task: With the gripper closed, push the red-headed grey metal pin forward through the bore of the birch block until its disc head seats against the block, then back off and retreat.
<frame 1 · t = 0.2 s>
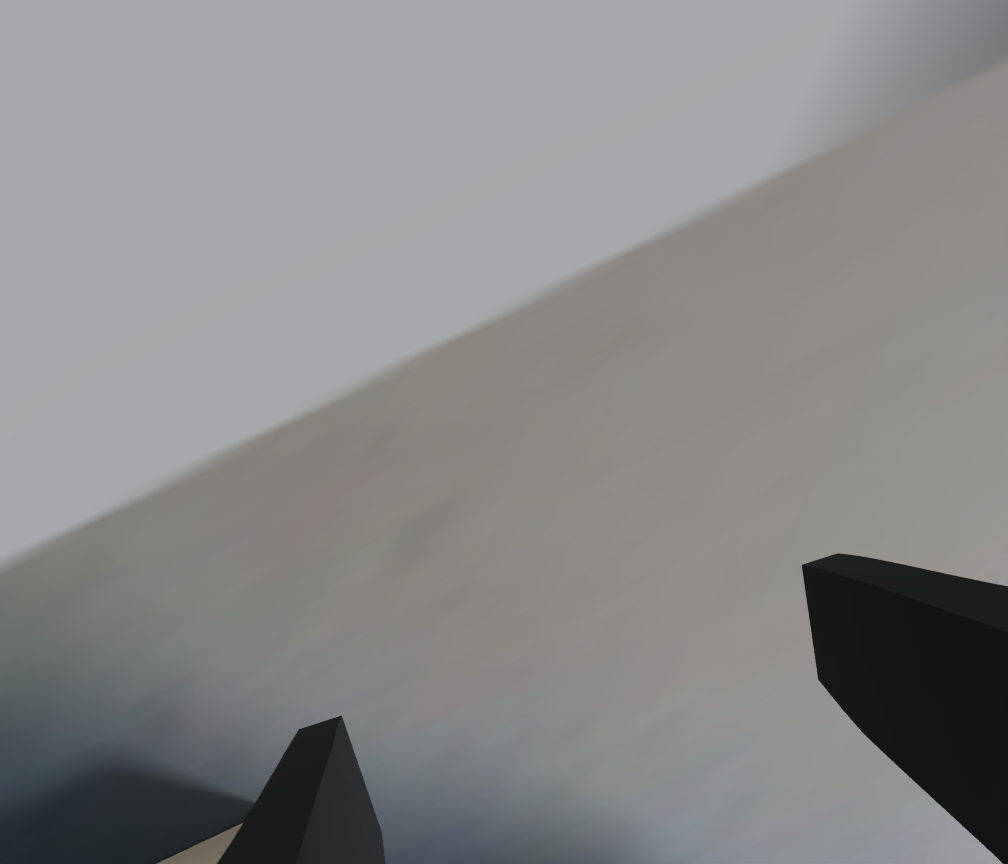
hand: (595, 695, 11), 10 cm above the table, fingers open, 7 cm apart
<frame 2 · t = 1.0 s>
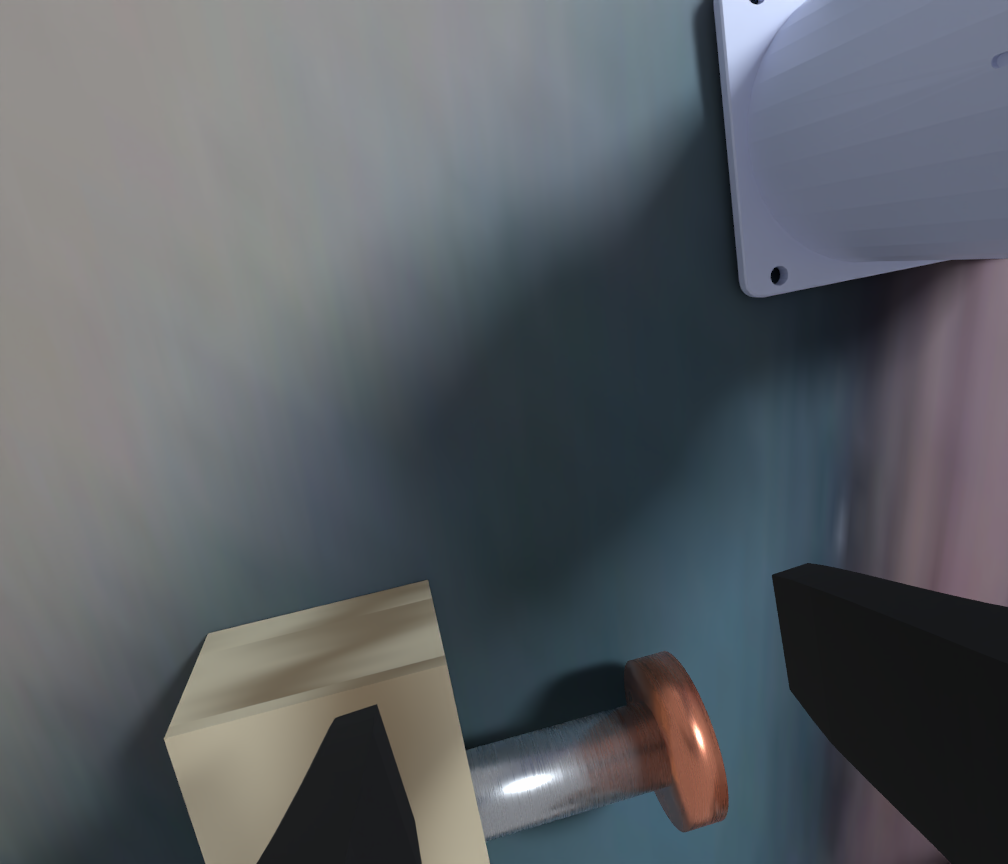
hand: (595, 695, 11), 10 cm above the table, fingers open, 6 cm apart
hitch block: (360, 760, 21), on the table
pin: (474, 795, 19), point 3 cm above the table, slide at 0.0 cm
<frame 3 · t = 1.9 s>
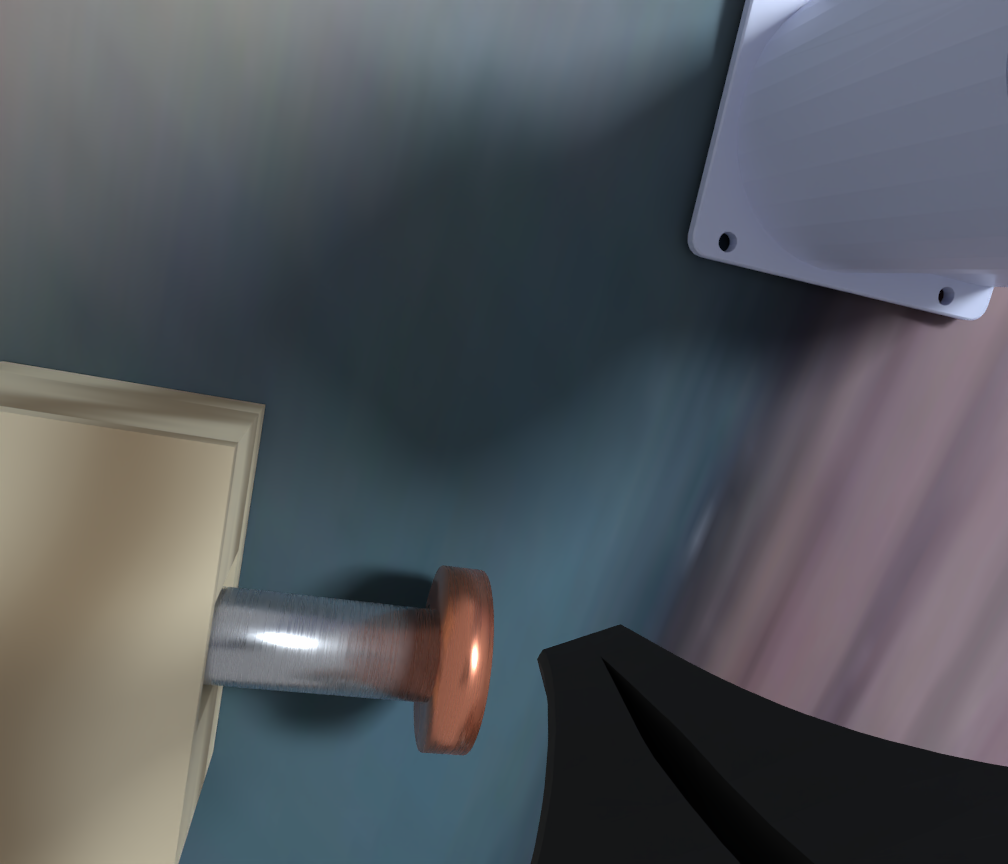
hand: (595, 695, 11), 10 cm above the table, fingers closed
hitch block: (116, 572, 19), on the table
pin: (218, 634, 17), point 3 cm above the table, slide at 0.0 cm
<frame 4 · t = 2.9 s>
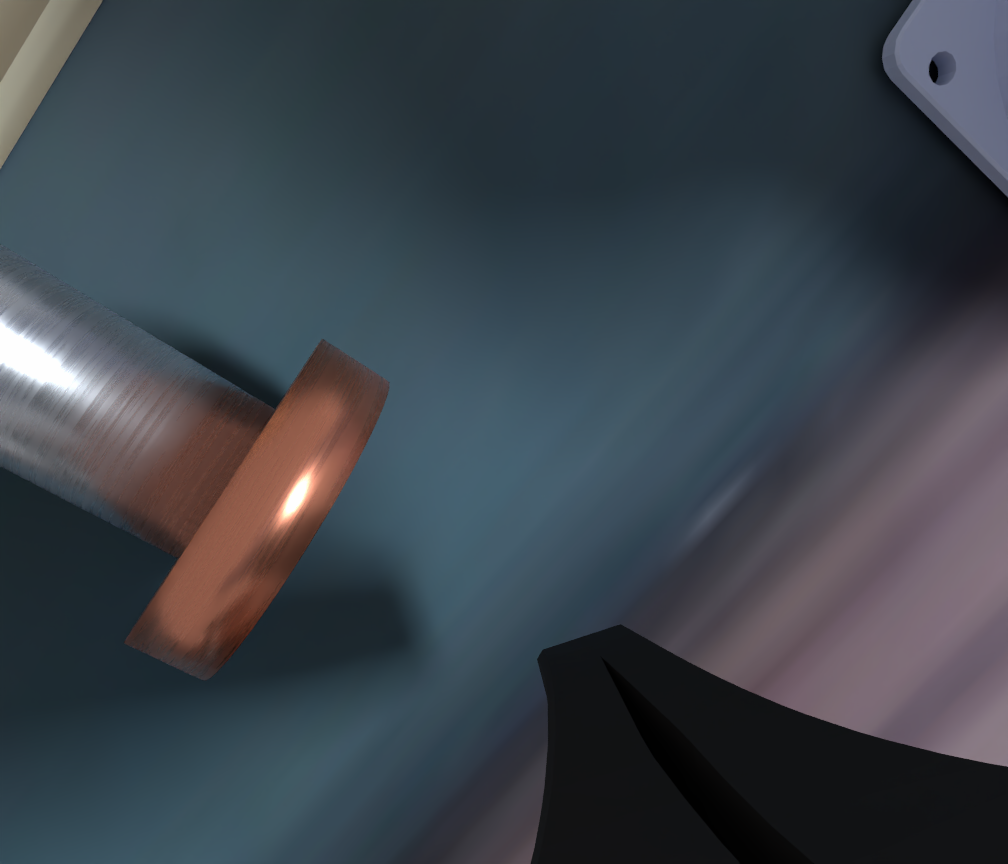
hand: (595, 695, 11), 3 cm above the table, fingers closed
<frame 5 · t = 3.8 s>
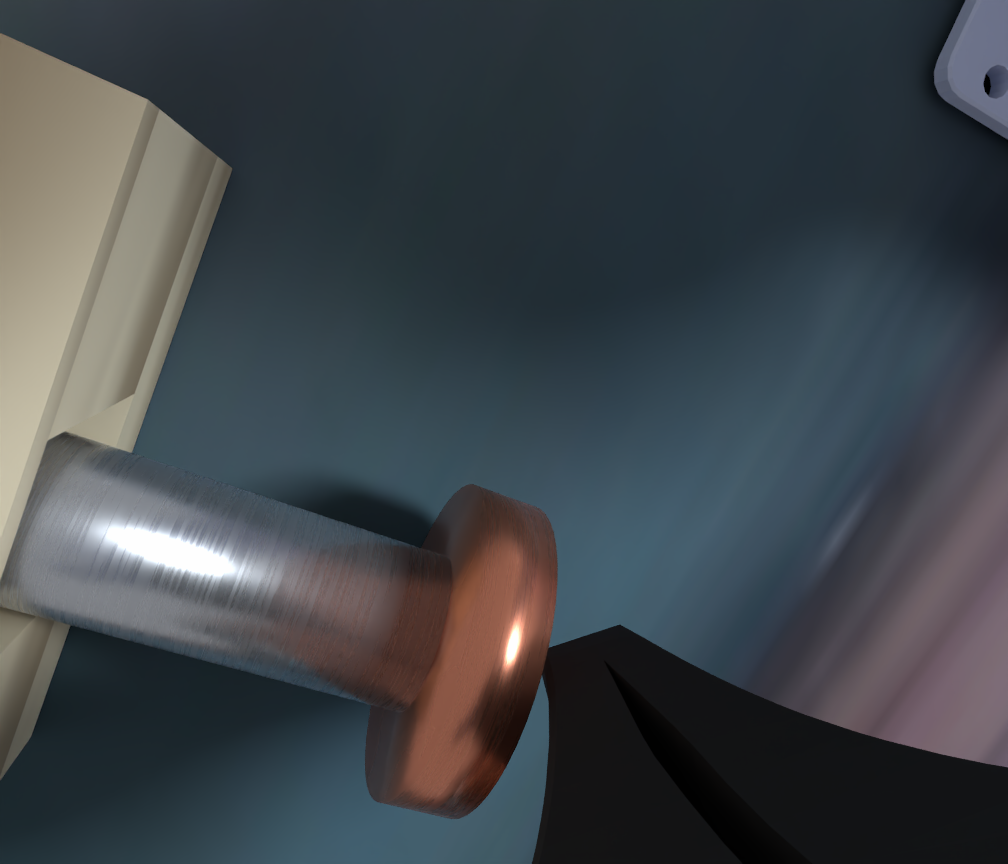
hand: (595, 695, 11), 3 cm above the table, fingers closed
pin: (46, 519, 9), point 3 cm above the table, slide at 0.2 cm, touching gripper
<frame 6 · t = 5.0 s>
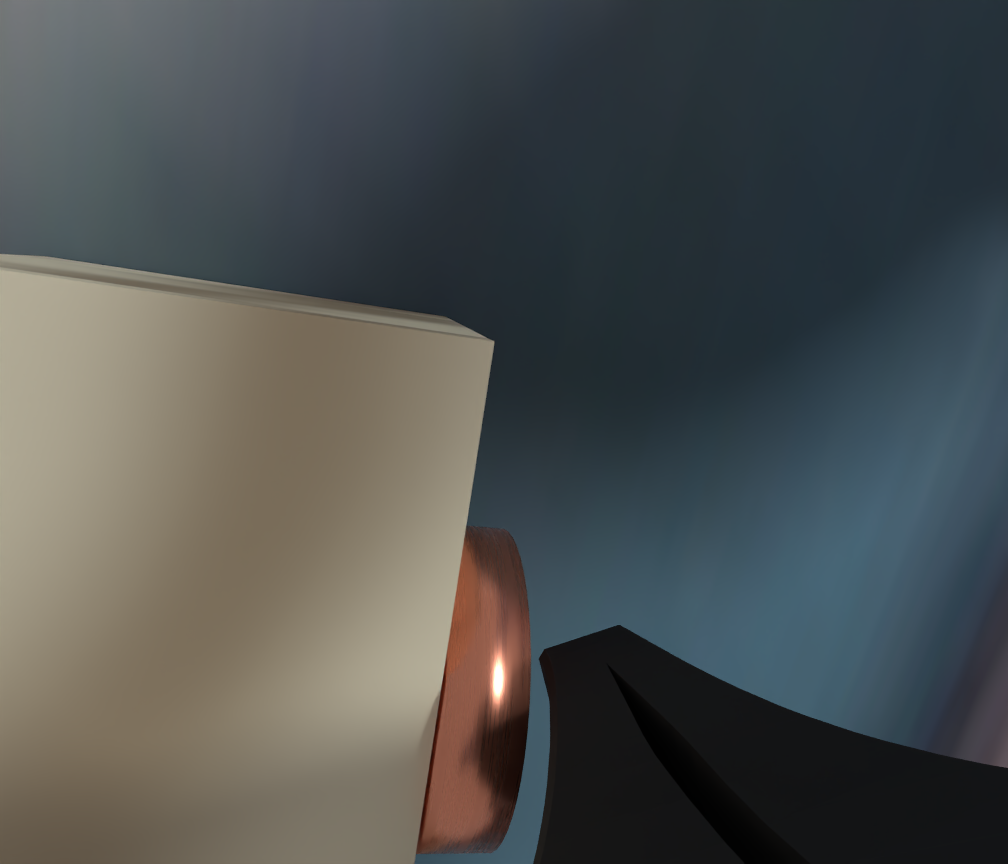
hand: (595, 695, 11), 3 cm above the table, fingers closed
hitch block: (229, 584, 12), on the table
pin: (33, 660, 9), point 3 cm above the table, slide at 4.9 cm, touching gripper
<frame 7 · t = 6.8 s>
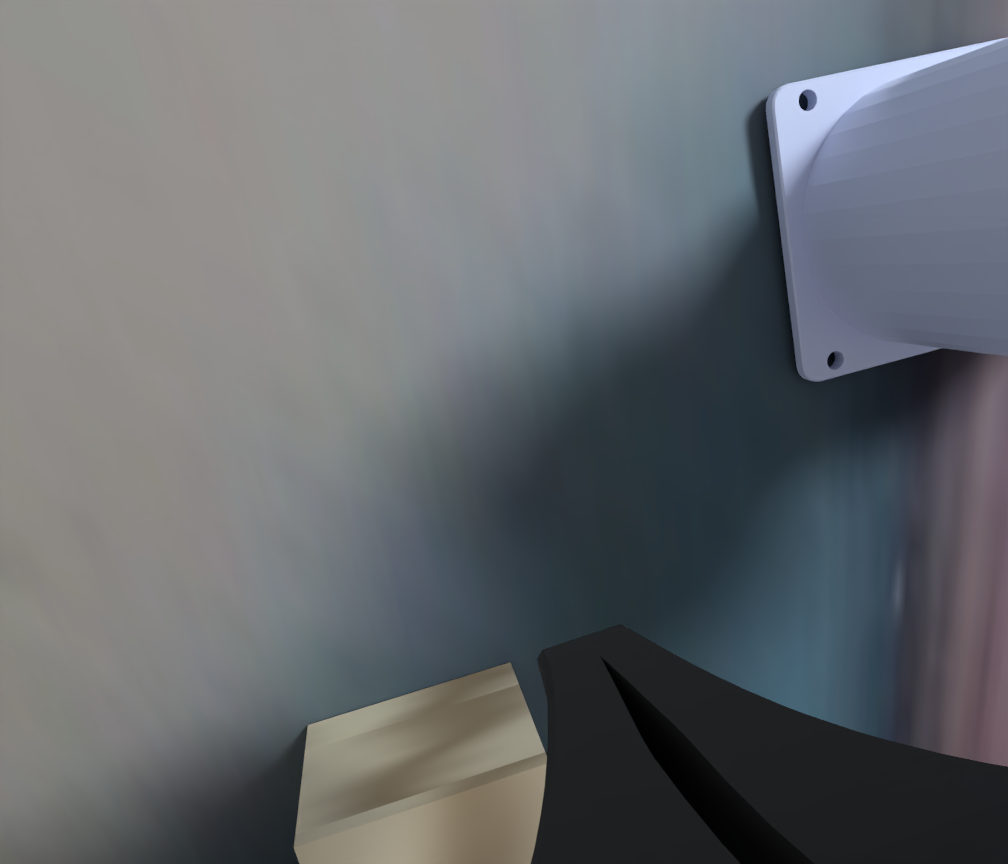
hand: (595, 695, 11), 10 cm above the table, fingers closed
hitch block: (451, 832, 22), on the table
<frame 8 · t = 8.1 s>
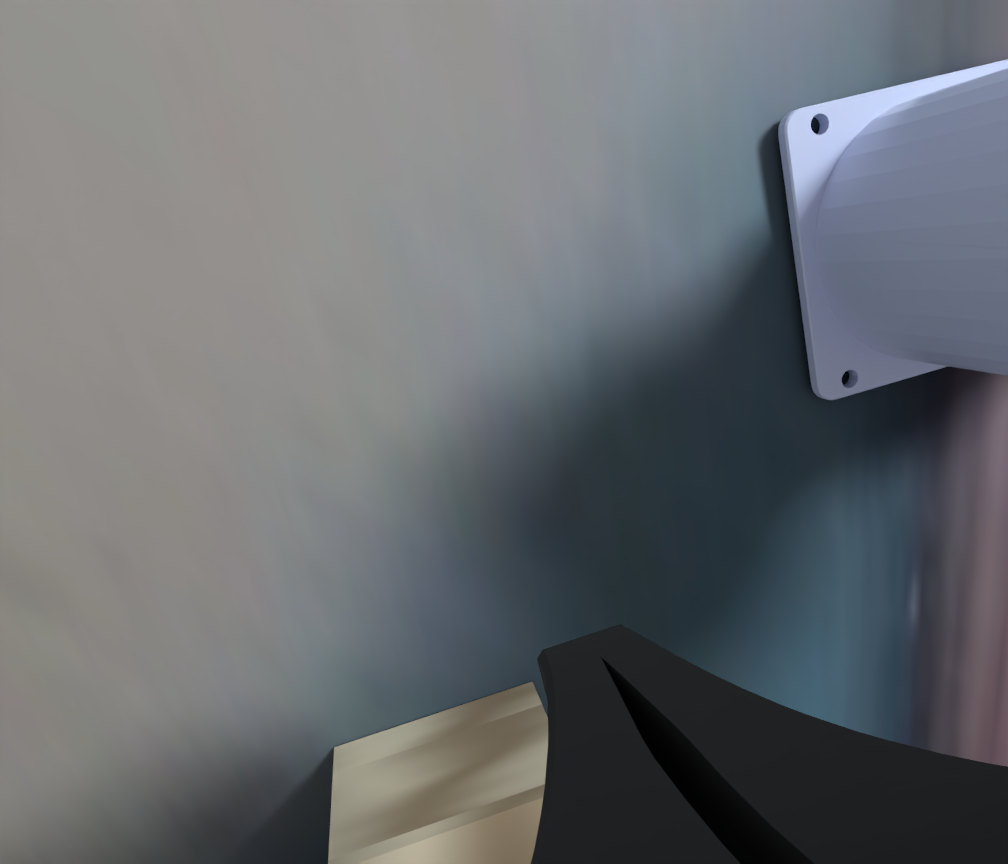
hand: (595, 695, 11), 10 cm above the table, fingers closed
hitch block: (476, 849, 23), on the table
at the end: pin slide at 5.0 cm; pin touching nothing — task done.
